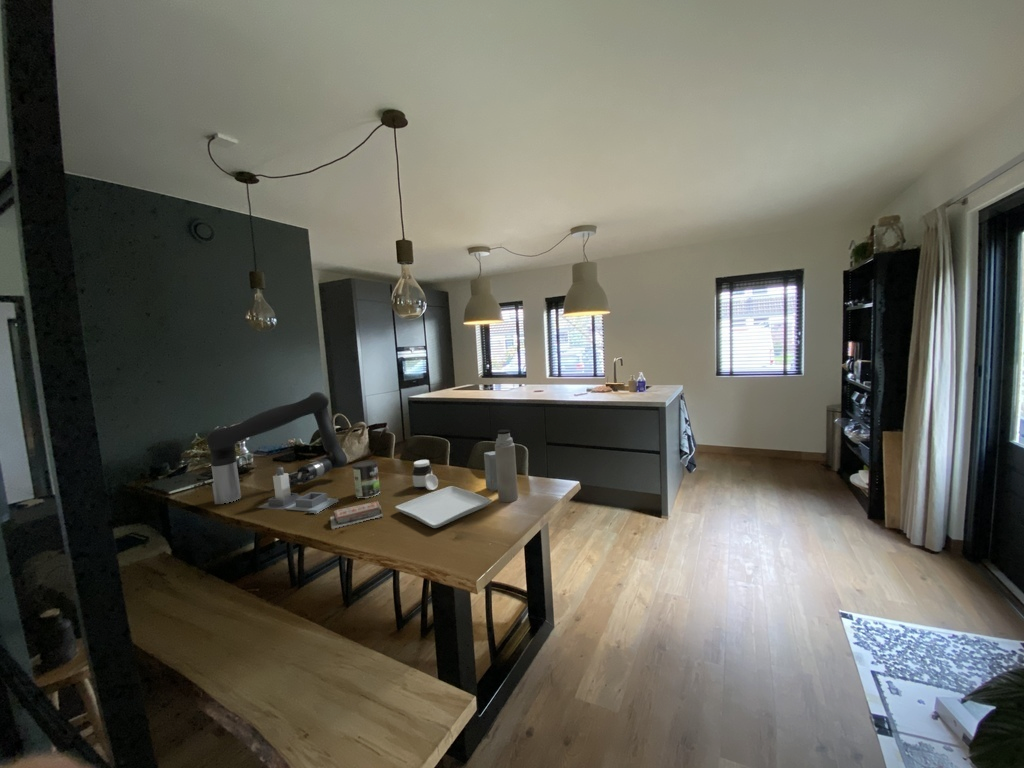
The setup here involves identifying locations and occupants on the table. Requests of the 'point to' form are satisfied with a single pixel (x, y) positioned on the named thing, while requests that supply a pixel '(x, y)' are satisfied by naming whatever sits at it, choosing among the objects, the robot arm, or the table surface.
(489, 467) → the skincare box
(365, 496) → the coffee can
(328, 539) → the table surface
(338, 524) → the packaged product
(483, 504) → the square plate
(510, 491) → the thermos bottle
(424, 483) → the spread jar
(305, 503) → the panel
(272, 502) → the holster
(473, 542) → the table surface
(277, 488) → the plug
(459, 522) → the table surface
